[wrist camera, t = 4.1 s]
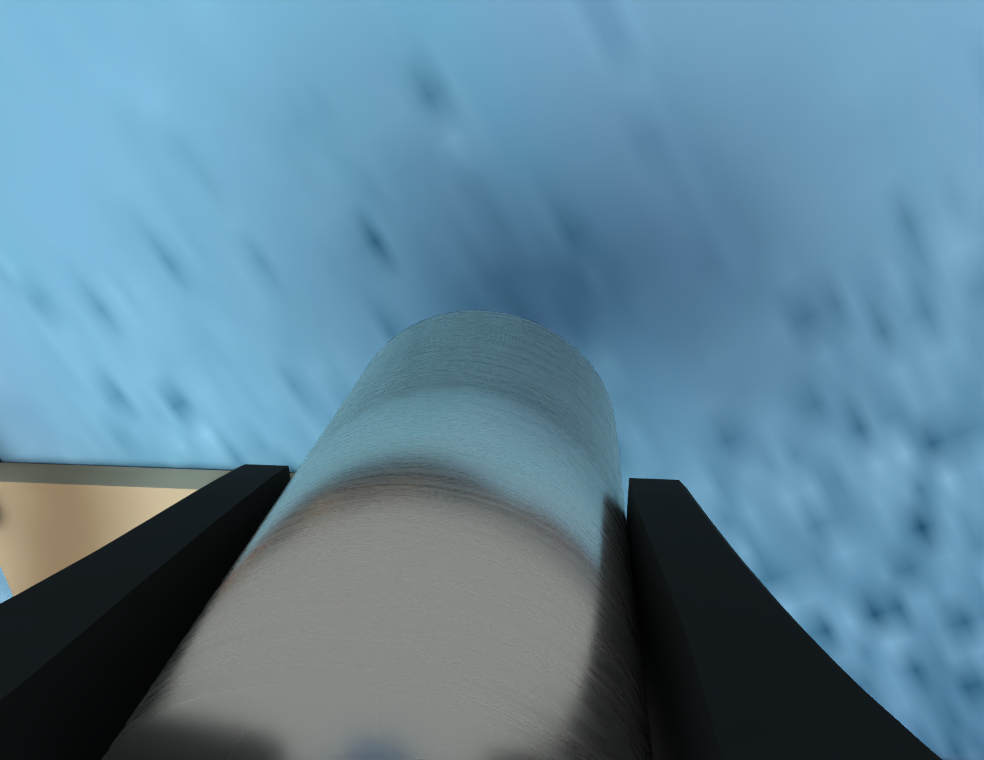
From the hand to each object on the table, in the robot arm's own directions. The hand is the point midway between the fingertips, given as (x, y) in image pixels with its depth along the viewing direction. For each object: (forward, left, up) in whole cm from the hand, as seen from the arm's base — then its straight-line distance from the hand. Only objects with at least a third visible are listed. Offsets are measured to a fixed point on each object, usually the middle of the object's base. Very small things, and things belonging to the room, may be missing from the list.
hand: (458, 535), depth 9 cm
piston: (0, 0, -3) cm, 3 cm away
